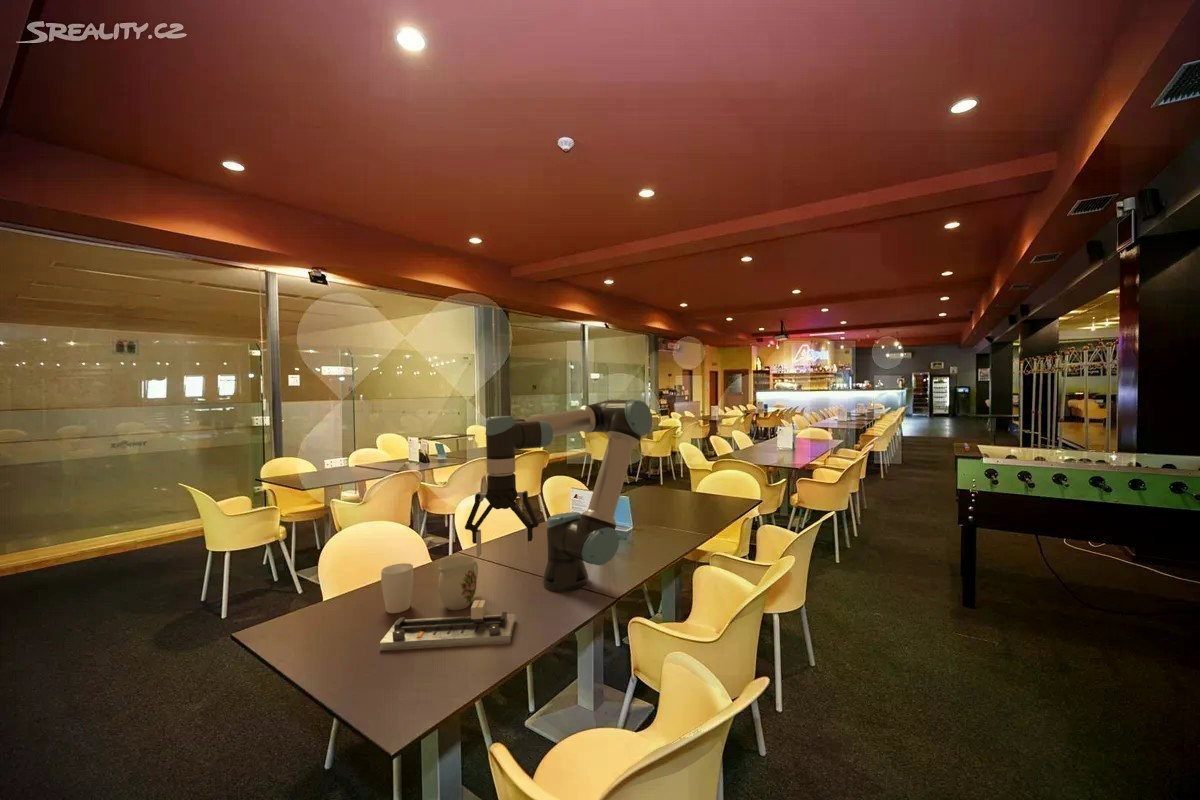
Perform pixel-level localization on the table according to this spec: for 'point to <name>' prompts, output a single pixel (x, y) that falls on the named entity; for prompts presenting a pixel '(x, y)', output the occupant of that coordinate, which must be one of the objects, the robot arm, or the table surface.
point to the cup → (397, 587)
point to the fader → (478, 611)
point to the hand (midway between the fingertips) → (503, 554)
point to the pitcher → (457, 581)
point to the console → (448, 632)
